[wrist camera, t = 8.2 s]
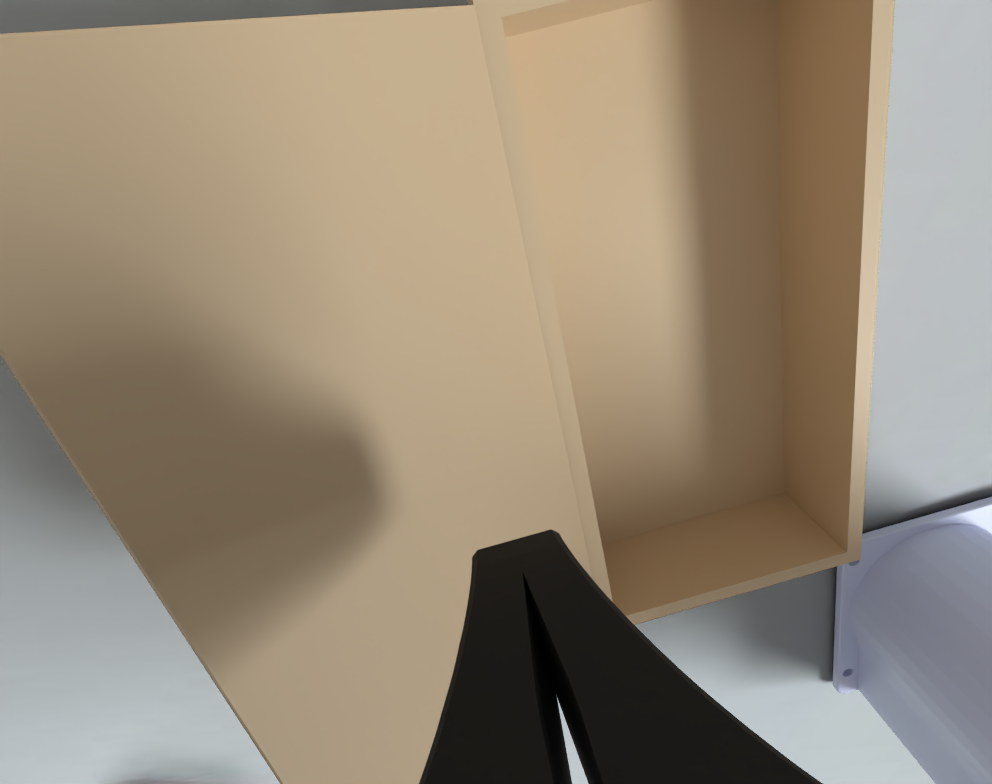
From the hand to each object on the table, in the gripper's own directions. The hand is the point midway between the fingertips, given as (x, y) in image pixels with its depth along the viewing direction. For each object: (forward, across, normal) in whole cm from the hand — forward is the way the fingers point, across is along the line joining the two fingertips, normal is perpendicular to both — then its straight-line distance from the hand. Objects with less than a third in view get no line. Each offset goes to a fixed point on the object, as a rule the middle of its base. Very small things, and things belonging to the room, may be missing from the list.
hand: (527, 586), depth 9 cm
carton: (+10, -6, 0) cm, 12 cm away
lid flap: (+3, +2, 0) cm, 3 cm away
